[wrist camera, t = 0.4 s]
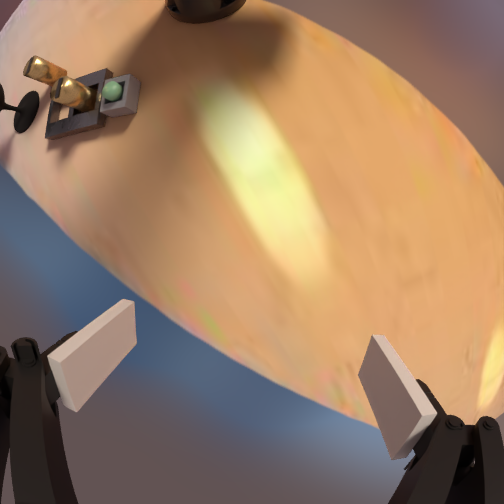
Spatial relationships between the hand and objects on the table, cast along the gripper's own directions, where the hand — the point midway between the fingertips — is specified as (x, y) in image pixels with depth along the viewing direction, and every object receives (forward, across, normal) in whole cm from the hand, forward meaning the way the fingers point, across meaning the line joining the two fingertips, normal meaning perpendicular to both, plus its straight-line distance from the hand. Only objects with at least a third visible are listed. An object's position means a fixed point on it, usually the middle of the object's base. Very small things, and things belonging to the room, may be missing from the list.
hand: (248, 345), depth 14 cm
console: (+27, -26, +22) cm, 44 cm away
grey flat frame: (+27, -37, +22) cm, 51 cm away
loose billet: (+27, -46, +31) cm, 62 cm away
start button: (+23, -26, +23) cm, 42 cm away
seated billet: (+27, -34, +23) cm, 49 cm away
